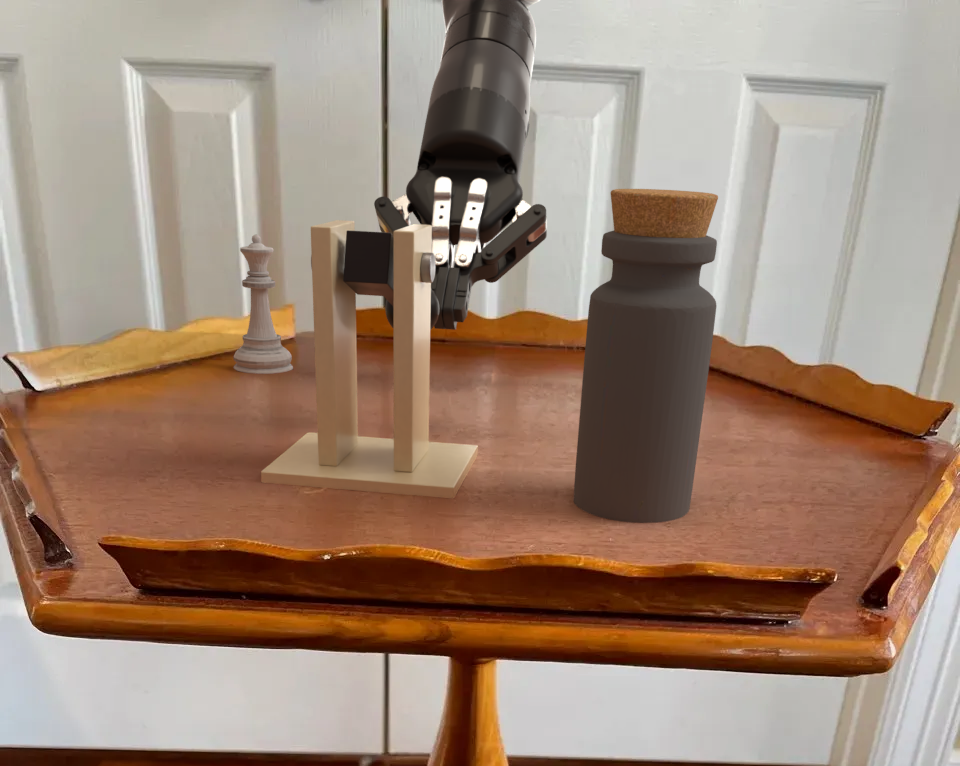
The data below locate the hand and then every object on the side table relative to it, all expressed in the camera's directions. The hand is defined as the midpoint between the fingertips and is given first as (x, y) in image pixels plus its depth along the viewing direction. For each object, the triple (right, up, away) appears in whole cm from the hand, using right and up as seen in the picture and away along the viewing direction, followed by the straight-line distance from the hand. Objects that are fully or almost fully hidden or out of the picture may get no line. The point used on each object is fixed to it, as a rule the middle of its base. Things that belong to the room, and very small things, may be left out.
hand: (444, 322), depth 71 cm
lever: (-2, -4, -15) cm, 15 cm away
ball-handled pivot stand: (-3, -13, -15) cm, 20 cm away
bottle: (+10, -16, -19) cm, 26 cm away
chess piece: (-14, -2, +7) cm, 16 cm away
